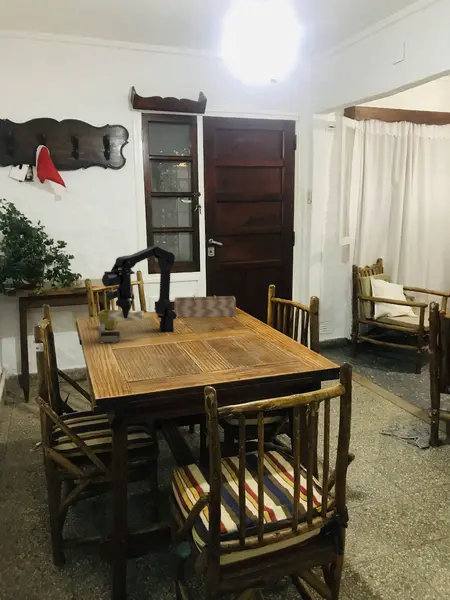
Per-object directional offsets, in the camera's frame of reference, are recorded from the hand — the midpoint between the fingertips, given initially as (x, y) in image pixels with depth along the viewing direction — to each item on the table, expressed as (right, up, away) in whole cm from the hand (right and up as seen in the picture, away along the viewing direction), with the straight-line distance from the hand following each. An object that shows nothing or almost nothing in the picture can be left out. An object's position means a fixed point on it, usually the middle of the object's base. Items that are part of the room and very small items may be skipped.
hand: (126, 317), depth 229 cm
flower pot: (-13, -7, +25) cm, 29 cm away
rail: (0, -1, 0) cm, 1 cm away
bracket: (-7, -11, +1) cm, 13 cm away
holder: (+34, 0, +56) cm, 66 cm away
